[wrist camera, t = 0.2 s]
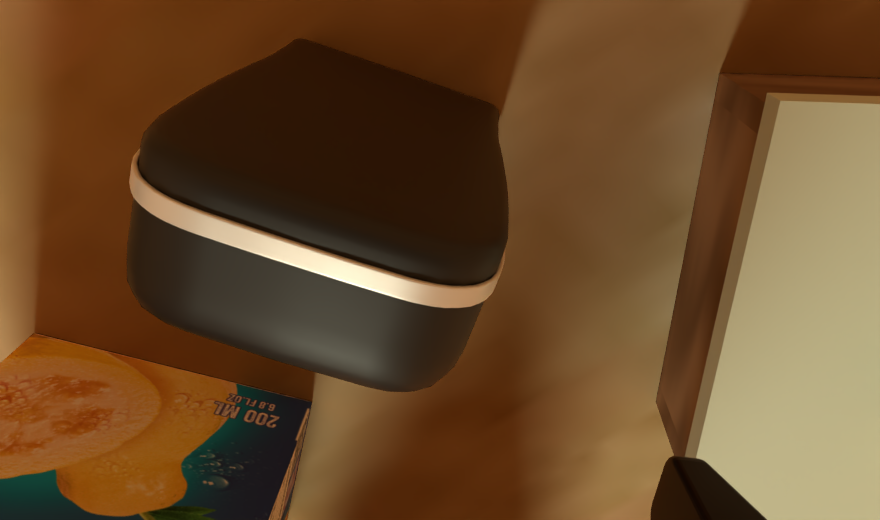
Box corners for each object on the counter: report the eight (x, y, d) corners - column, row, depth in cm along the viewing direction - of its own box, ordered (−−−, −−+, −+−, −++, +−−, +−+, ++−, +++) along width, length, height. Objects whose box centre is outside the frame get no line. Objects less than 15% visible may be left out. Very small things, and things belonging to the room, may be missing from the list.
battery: (264, 146, 22) (69, 337, 12) (289, 30, 21) (89, 135, 10) (468, 214, 23) (449, 451, 13) (509, 106, 21) (525, 278, 11)
